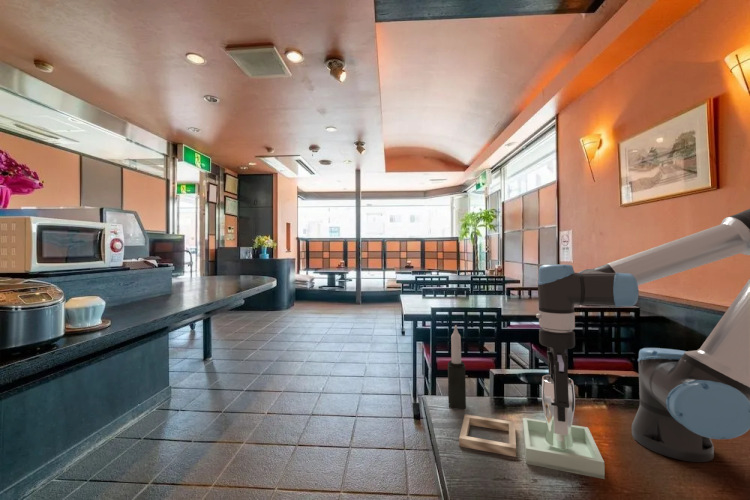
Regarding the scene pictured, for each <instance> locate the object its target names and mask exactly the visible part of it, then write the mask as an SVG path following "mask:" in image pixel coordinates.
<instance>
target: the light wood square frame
mask: <svg viewBox="0 0 750 500" xmlns="http://www.w3.org/2000/svg"><path fill="white" fill-rule="evenodd" d="M471 426H474V427H475V426H476V427H479V428H481V427H482V428H487V429H492V430H498V431H499V430H500V431H504V432H505V431H506V432H508V443H507V442H501V441H496V440H490V439H485V438H479V437H473V436H469V433H470V432H469V431H470V427H471ZM460 429H461V430H460V434H459V437H458V440H459V441H458V447H461V448H462V447H463V448H467V449H473V450H477V451H478V450H479V451H482V452H483V451H484V452H489V453H494V454H500V455H504V456H509V457H515V458H517V443H516V442H517V440H516V439H517V437H516V436H517V435H516V422H515V421H510V420H506V419H505V420H504V419H498V418H492V417H485V416H484V417H483V416H479V415H478V416H477V415H473V414H466V413H465V414H464V417H463V421H462V424H461V428H460Z"/></svg>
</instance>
